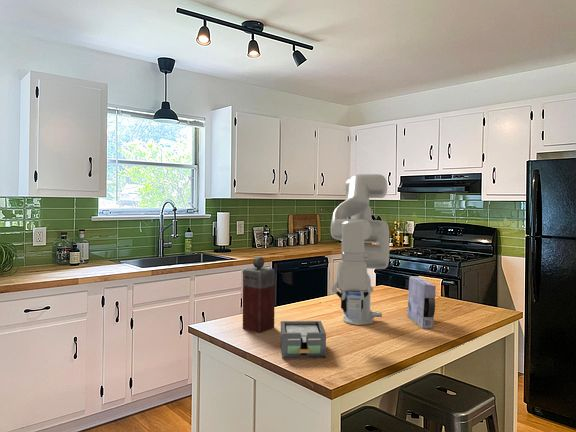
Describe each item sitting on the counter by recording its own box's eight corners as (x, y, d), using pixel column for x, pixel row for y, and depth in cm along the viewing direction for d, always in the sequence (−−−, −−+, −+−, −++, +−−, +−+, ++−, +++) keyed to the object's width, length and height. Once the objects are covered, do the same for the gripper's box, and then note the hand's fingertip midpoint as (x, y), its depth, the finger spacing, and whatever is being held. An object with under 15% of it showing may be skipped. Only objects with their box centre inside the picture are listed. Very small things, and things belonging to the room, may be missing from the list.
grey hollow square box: (320, 343, 155) (320, 320, 155) (325, 358, 141) (326, 333, 141) (280, 343, 155) (280, 321, 154) (282, 358, 140) (282, 334, 140)
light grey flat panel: (316, 328, 153) (316, 325, 153) (321, 342, 139) (321, 338, 139) (285, 328, 153) (285, 325, 153) (287, 342, 139) (287, 338, 139)
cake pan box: (435, 330, 172) (436, 284, 171) (423, 330, 171) (424, 285, 171) (417, 316, 191) (418, 275, 190) (406, 316, 191) (407, 275, 190)
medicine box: (343, 312, 154) (343, 288, 153) (355, 312, 154) (356, 288, 154) (348, 319, 146) (348, 293, 145) (361, 319, 146) (361, 293, 146)
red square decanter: (253, 322, 180) (253, 254, 179) (274, 327, 173) (275, 256, 172) (238, 327, 173) (238, 256, 172) (259, 333, 166) (259, 259, 165)
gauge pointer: (308, 351, 140) (308, 348, 140) (309, 353, 139) (309, 350, 139) (299, 352, 140) (299, 348, 140) (299, 353, 139) (299, 350, 139)
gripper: (374, 255, 153) (373, 308, 154) (326, 255, 153) (325, 308, 153) (380, 258, 146) (379, 313, 147) (329, 258, 145) (328, 313, 146)
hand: (351, 310), depth 150 cm, fingers closed on medicine box, 4 cm apart
